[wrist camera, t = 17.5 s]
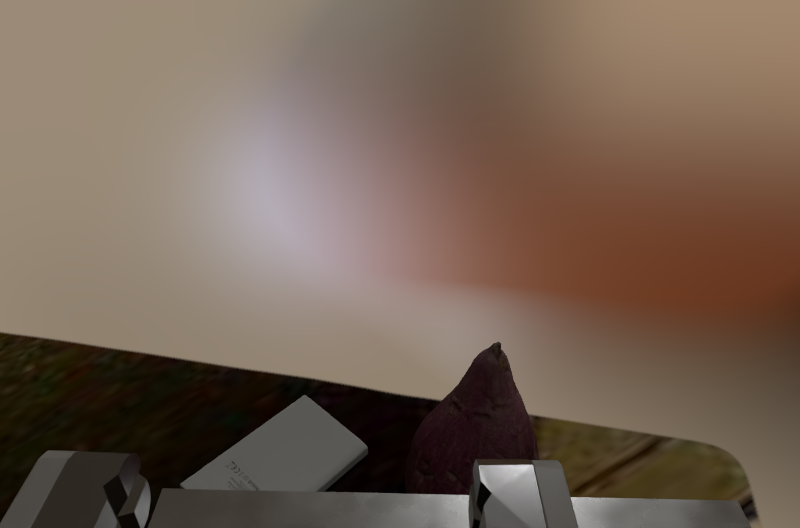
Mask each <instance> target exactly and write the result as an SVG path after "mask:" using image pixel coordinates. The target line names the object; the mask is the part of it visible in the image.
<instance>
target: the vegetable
mask: <svg viewBox="0 0 800 528" xmlns="http://www.w3.org/2000/svg"><path fill="white" fill-rule="evenodd" d="M476 459H529V460H539V456H538V448H537V440H536V436H535V433H534V431H533V427H532V424H531V421H530V419H529V416H528V414H527V411H526V409H525V406H524V403H523V401H522V398H521V396H520V394H519V391H518V389H517V388H516V385H515V382H514V380H513V376H512V372H511V369H510V365H509V362H508V359H507V356H506V355H505V353H504V352H503V351H502V350H501V343H500V342H497V343H494V344H493V345H492V346H491V347H489V348H488V349H486V350H484V351H482V352H481V353H480V354H479V355H478V356H477V357H476V358H475V359H474V361H473V362H472V364H471V366H470V367H469V369H468V371H467V372H466V374H465V375H464V377H463V378H462V380H461V381H460V383H459V384H458V385H457V386H456V387H455V388H454V390H453V391H452V392H451V393H450V394H448V395H447V396H446V397H445V398H444V399H443V400H442V401H441V402H440V403H439V405H438V406H437V407H436V408H435V409H434V410H433V411H432V412H431V413H429V414H428V415H427V416H426V418H425V419H424V420H423V422H422V423H421V424H420V426H419V428H418V429H417V431H416V433H415V435H414V438H413V440H412V444H411V448H410V452H409V455H408V458H407V464H406V470H405V487H406V494H441V495H469V492H470V486H471V485H472V484H473V483H474V477H473V467H474V462H475V460H476Z"/></svg>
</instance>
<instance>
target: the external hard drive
mask: <svg viewBox="0 0 800 528" xmlns="http://www.w3.org/2000/svg"><path fill="white" fill-rule="evenodd" d="M367 454H368V447H367V446H366V445H365V443H363V442H362V441H361V440H360V439H359V438H357V437H356V436H355V435H354V434H353V433H351V432H350V431H349V430H348V429H346V428H345V427H344V426H343V425H341V424H340V423H339V422H338V421H337V420H335V419H334V418H333V417H332V416H330V415H329V414H328V413H327V412H326V411H325V410H323V409H322V408H321V407H320V406H318V405H317V404H316V403H315V402H314V401H312V400H311V399H310V398H308V397H307V396H305V395H304V396H302V397H301V398H300V399H298V400H297V401H295V402H294V403H292V404H291V405H290V406H288V407H287V408H286V409H284V410H283V411H281V412H280V413H279V414H277V415H276V416H274V417H273V418H272V419H270V420H269V421H267V422H266V423H265V424H263V425H262V426H261V427H259V428H258V429H256V430H255V431H254V432H252V433H251V434H249V435H248V436H247V437H245V438H244V439H242V440H241V441H240V442H238V443H237V444H235V445H234V446H233V447H231V448H230V449H228V450H227V451H226V452H224V453H223V454H221V455H220V456H219V457H217V458H216V459H215V460H213V461H212V462H210V463H209V464H208V465H206V466H205V467H203V468H202V469H201V470H199V471H198V472H197V473H195V474H194V475H192V476H191V477H189V478H188V479H187V480H185V481H184V482H182V483H181V484H180V486H181V489H208V490H255V491H301V492H324V491H325V490H326V489H328V488H329V487H330V486H331V485H332V484H333V483H335V482H336V481H337V480H338V479H339V478H340V477H342V476H343V475H344V474H345V473H346V472H347V471H349V470H350V469H351V468H352V467H353V466H354V465H356V464H357V463H358V462H359V461H360V460H361V459H363V458H364V457H365V456H366V455H367Z"/></svg>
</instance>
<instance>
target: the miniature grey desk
mask: <svg viewBox="0 0 800 528" xmlns="http://www.w3.org/2000/svg"><path fill="white" fill-rule="evenodd" d="M571 501H572V505H573V509H574V512H575V516H576V520H577V524H578V527H579V528H751V526H750V524H749V522H748V520H747V518H746V516H745V515H744V513H743V511H742V509H741V507H740V505H739V503H738V501H720V500H674V499H627V498H580V497H571ZM468 508H469V495H441V494H394V493H348V492H301V491H255V490H208V489H162V492H161V494H160V497H159V500H158V502H157V505H156V508H155V510H154V513H153V516H152V519H151V521H150V524H149V527H148V528H469V514H468Z"/></svg>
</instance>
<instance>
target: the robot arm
mask: <svg viewBox="0 0 800 528" xmlns="http://www.w3.org/2000/svg"><path fill="white" fill-rule="evenodd" d="M140 467H141V463H140V460H139V458H138V456H137V454H136V453H107V452H79V451H47V452H46V453H45V454H43V455H42V456H41V457H40V458H39V459H38V460H37V462H36V464H35V466H34V467H33V469H32V471H31V472H30V474H29V476H28V477H27V479H26V481H25V482H24V484H23V486H22V487H21V489H20V491H19V492H18V494H17V496H16V497H15V499H14V501H13V502H12V504H11V506H10V507H9V509H8V511H7V512H6V514H5V516H4V518H3V519H2V521H1V523H0V528H144V526H145V523H146V520H147V518H148V513H149V507H150V500H151V498H150V487H149V485H148V482H147V480H146V479H145V478H144V477H142V476H141V475H139V474H138V472H139V469H140ZM473 477H474V483H473V484H472V485H471V486H470V492H469V508H468V514H469V528H579V527H578V524H577V520H576V516H575V512H574V509H573V505H572V501H571V497H570V494H569V490H568V486H567V482H566V479H565V475H564V471H563V467H562V465H561V464H560V462H559V461H557V460H529V459H476V460H475V462H474V467H473Z"/></svg>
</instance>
